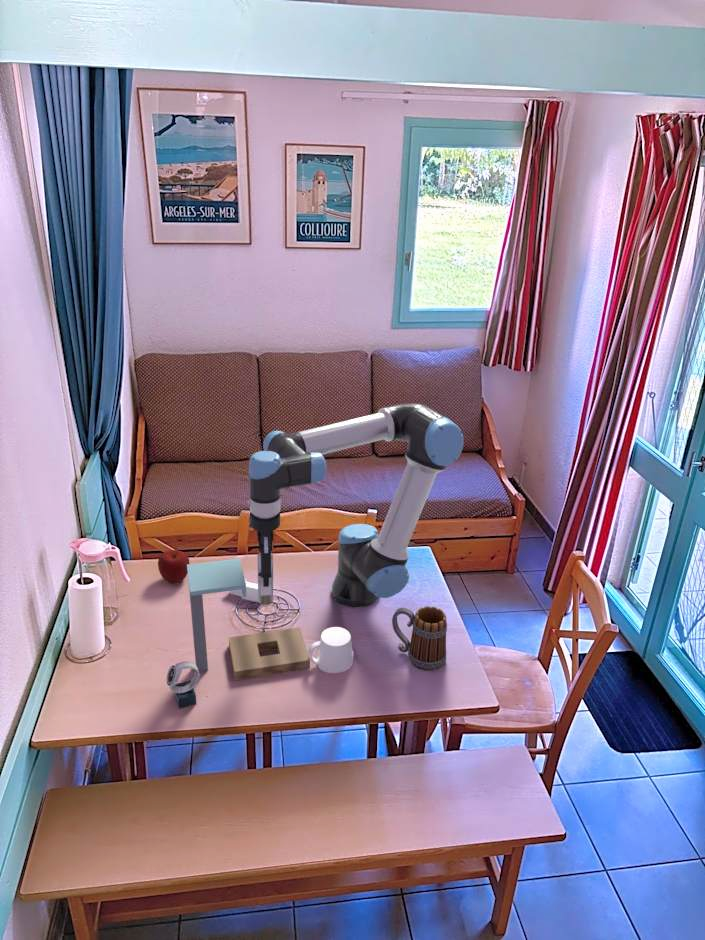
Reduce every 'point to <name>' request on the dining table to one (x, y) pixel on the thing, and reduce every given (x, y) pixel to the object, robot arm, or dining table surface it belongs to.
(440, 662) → the mug
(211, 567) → the light blue l-shaped bracket
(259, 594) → the peg
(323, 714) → the dining table surface
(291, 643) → the socket board
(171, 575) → the apple
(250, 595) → the napkin holder
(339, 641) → the mug
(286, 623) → the dining table surface
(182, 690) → the watch
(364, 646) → the dining table surface
